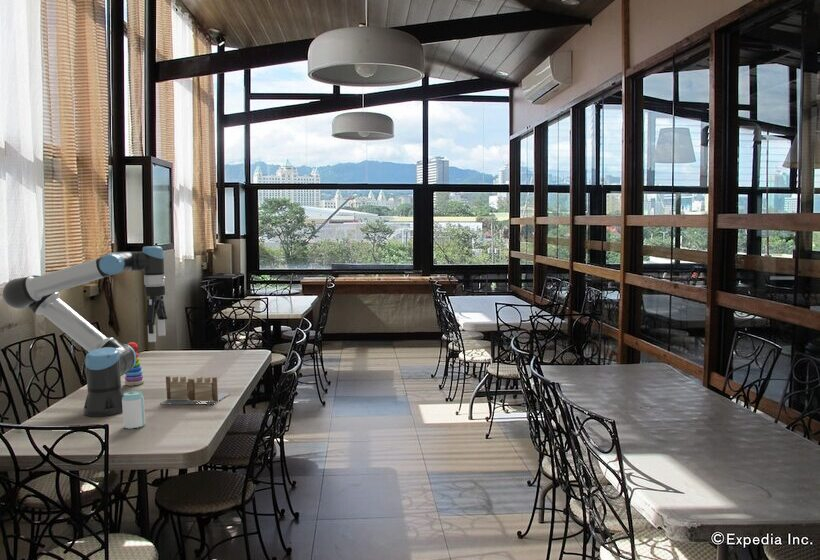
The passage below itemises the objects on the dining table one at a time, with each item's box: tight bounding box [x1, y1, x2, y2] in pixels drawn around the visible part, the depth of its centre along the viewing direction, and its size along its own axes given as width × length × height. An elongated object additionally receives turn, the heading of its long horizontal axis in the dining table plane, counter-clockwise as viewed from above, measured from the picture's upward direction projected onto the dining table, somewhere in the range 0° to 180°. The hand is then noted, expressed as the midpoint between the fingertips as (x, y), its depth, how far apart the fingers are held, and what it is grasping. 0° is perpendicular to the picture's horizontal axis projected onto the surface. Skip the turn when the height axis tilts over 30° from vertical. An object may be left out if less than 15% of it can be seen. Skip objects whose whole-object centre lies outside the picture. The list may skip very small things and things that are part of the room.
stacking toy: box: [124, 341, 145, 387], centre depth 296 cm, size 8×8×19 cm
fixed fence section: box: [187, 376, 219, 401], centre depth 265 cm, size 2×12×10 cm, turn 81°
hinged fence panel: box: [165, 375, 189, 400], centre depth 267 cm, size 2×9×9 cm, turn 81°
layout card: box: [160, 392, 231, 406], centre depth 269 cm, size 16×22×1 cm
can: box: [122, 390, 146, 430], centre depth 234 cm, size 7×7×12 cm
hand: (157, 338), depth 267 cm, fingers open, 13 cm apart
